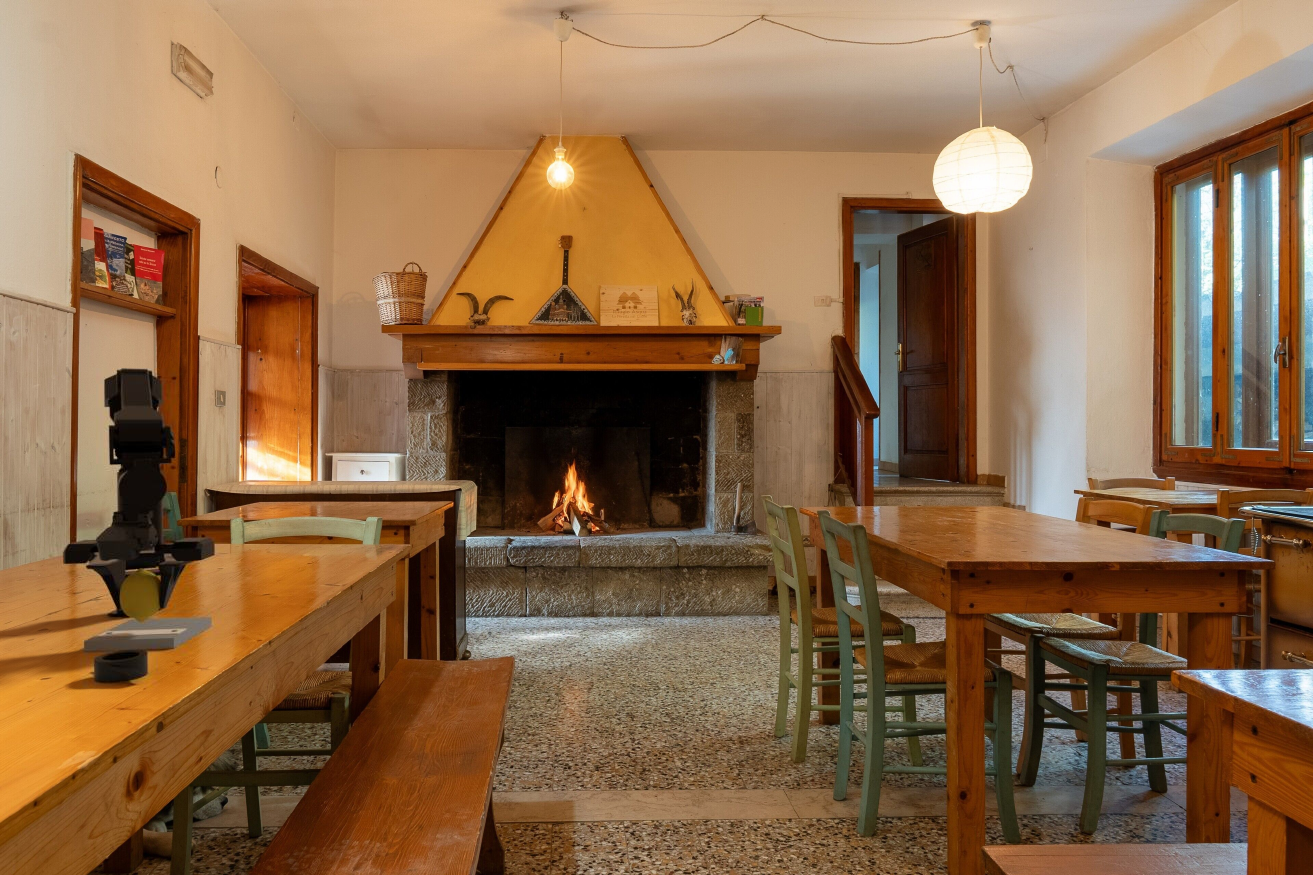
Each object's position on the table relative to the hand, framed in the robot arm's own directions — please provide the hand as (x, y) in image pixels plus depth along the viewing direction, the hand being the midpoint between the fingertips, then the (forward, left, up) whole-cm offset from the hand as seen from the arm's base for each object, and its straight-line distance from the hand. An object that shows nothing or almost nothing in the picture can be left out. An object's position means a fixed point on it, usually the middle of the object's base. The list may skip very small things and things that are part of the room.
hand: (141, 608), depth 128 cm
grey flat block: (-3, 0, -5) cm, 6 cm away
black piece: (+18, +5, -6) cm, 20 cm away
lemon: (0, 0, -2) cm, 2 cm away
